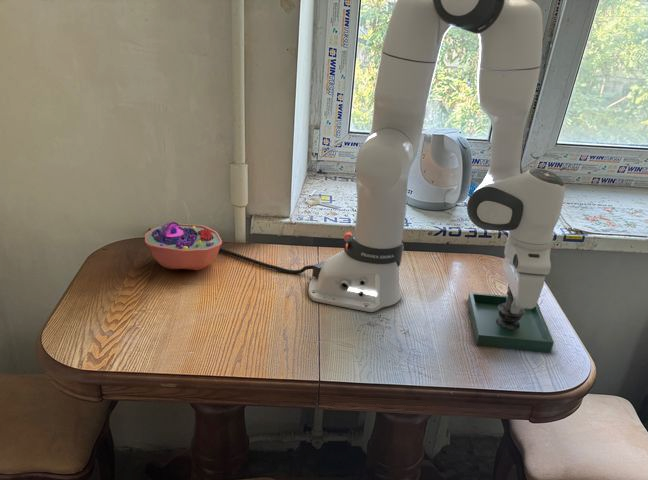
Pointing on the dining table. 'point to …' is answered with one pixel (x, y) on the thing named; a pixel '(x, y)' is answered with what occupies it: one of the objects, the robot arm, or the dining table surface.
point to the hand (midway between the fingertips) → (512, 306)
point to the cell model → (183, 245)
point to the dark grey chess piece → (509, 314)
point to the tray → (491, 334)
